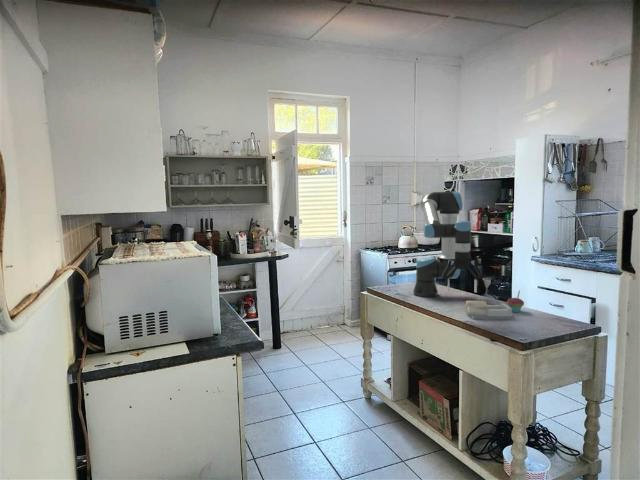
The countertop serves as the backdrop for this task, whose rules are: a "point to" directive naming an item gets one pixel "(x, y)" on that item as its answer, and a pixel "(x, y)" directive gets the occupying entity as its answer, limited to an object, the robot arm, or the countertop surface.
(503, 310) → the rail board
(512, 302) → the cupcake
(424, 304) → the countertop surface
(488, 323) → the countertop surface
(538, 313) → the countertop surface
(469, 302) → the panel block
